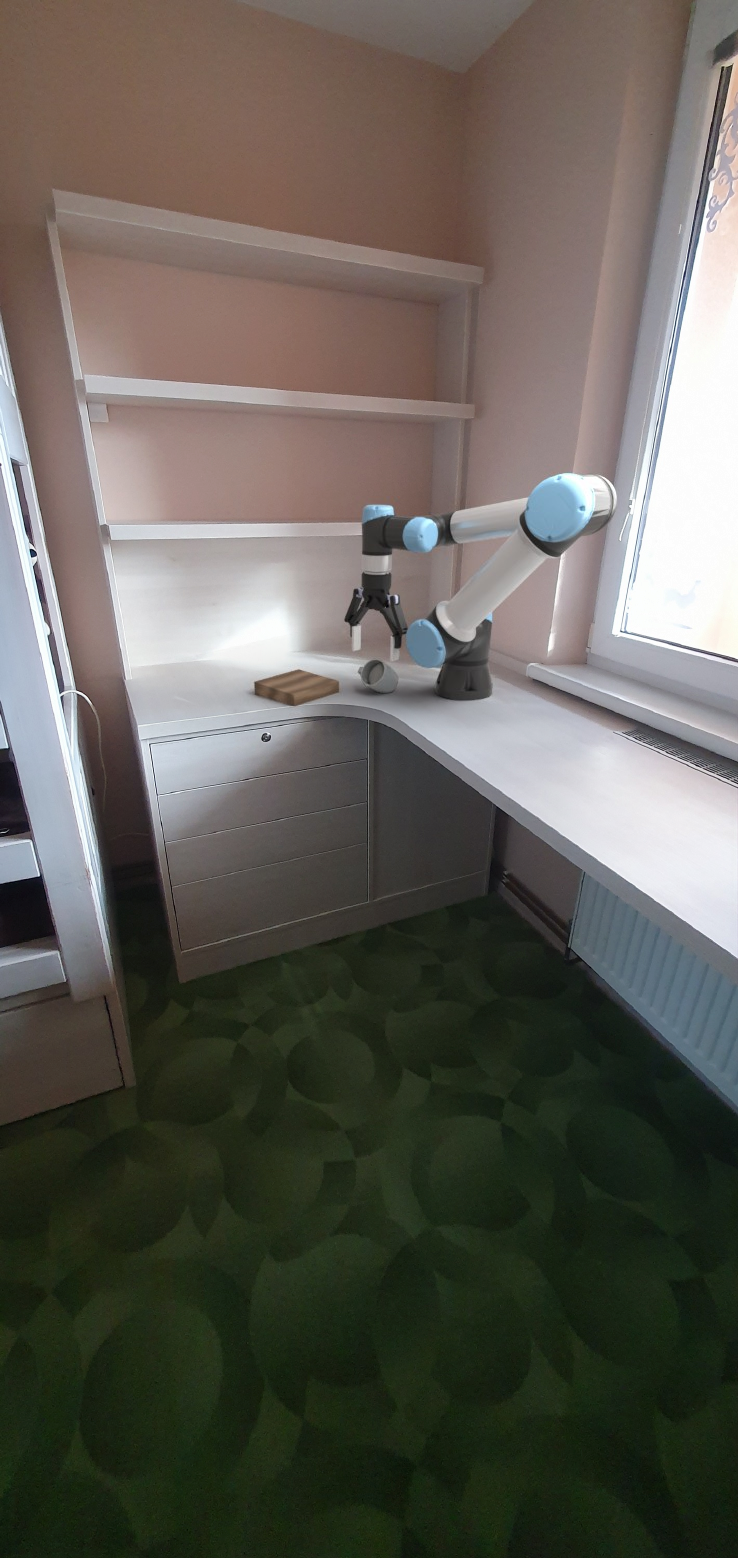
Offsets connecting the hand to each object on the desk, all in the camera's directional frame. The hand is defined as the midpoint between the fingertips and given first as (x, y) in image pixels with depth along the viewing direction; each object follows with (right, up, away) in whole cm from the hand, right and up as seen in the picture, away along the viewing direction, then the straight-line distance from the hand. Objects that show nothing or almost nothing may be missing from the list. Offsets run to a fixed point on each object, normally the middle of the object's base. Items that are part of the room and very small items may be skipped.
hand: (374, 655), depth 172 cm
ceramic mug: (0, -10, +4) cm, 11 cm away
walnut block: (-21, -10, +4) cm, 24 cm away
